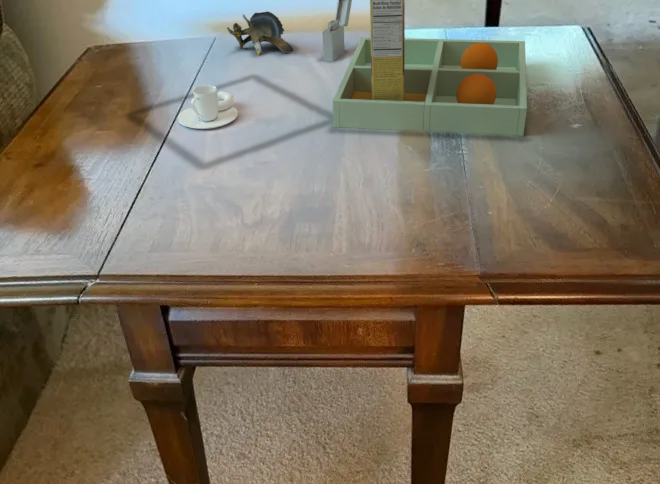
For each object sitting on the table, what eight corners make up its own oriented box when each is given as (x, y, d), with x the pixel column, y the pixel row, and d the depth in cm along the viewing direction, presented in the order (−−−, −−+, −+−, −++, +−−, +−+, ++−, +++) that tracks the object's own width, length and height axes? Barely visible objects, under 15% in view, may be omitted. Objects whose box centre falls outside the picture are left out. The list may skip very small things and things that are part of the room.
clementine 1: (496, 73, 108) (500, 38, 105) (495, 87, 104) (499, 50, 101) (460, 72, 109) (463, 37, 106) (458, 86, 105) (461, 49, 102)
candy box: (372, 94, 104) (372, -25, 94) (404, 94, 103) (407, -26, 94) (369, 122, 97) (369, -3, 87) (403, 122, 96) (407, -4, 87)
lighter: (333, 62, 116) (331, 7, 111) (323, 60, 117) (321, 6, 112) (352, 46, 121) (352, -6, 116) (342, 45, 122) (341, -7, 117)
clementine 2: (494, 106, 100) (498, 68, 96) (494, 122, 96) (498, 83, 93) (455, 104, 100) (458, 67, 97) (453, 120, 97) (456, 82, 94)
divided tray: (521, 69, 111) (524, 40, 108) (522, 140, 93) (527, 108, 90) (361, 64, 115) (361, 37, 112) (333, 131, 97) (332, 100, 94)
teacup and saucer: (223, 100, 106) (220, 71, 104) (254, 118, 101) (251, 88, 99) (167, 118, 102) (162, 88, 100) (197, 137, 97) (192, 107, 95)
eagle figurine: (228, 54, 117) (284, 44, 115) (224, 7, 117) (279, -4, 114) (246, 66, 125) (299, 56, 122) (242, 21, 124) (294, 11, 122)
